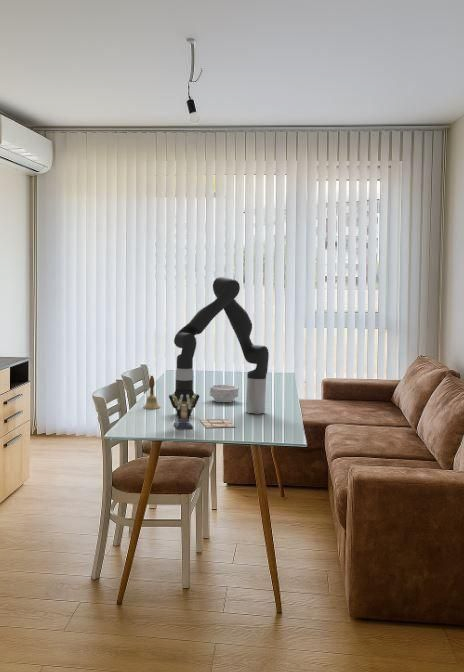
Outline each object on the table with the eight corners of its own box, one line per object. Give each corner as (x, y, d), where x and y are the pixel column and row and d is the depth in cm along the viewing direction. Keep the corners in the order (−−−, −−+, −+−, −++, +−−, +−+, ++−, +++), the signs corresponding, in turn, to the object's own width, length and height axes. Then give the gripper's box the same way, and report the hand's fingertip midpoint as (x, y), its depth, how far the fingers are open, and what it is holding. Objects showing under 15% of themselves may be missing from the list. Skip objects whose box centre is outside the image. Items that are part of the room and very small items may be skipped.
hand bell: (149, 409, 317) (149, 377, 316) (140, 407, 323) (140, 375, 322) (163, 408, 322) (164, 376, 321) (154, 405, 328) (154, 374, 327)
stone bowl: (238, 404, 338) (238, 389, 337) (208, 403, 338) (209, 388, 337) (238, 399, 353) (238, 384, 352) (210, 398, 353) (210, 384, 352)
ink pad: (173, 424, 286) (173, 421, 285) (189, 424, 287) (189, 420, 287) (176, 429, 277) (176, 425, 277) (192, 428, 278) (192, 425, 278)
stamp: (176, 420, 284) (177, 404, 283) (188, 419, 285) (188, 404, 284) (179, 422, 279) (179, 406, 278) (190, 422, 280) (190, 406, 280)
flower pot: (175, 417, 302) (176, 398, 301) (172, 413, 310) (173, 394, 309) (194, 416, 304) (194, 397, 303) (190, 412, 313) (191, 394, 312)
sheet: (199, 420, 296) (199, 419, 296) (227, 419, 299) (227, 418, 299) (206, 428, 280) (206, 427, 280) (235, 427, 283) (235, 426, 283)
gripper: (198, 376, 286) (198, 415, 287) (167, 377, 282) (166, 416, 284) (201, 379, 278) (201, 419, 280) (169, 379, 275) (168, 419, 277)
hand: (183, 417), depth 282 cm, fingers closed on stamp, 3 cm apart
